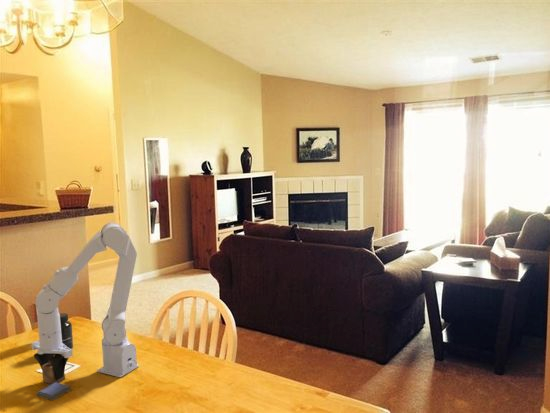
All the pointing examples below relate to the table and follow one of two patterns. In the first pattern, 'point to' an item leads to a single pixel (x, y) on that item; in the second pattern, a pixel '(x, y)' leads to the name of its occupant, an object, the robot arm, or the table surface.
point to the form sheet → (66, 367)
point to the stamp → (50, 374)
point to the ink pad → (53, 391)
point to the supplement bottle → (66, 330)
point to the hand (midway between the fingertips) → (53, 376)
